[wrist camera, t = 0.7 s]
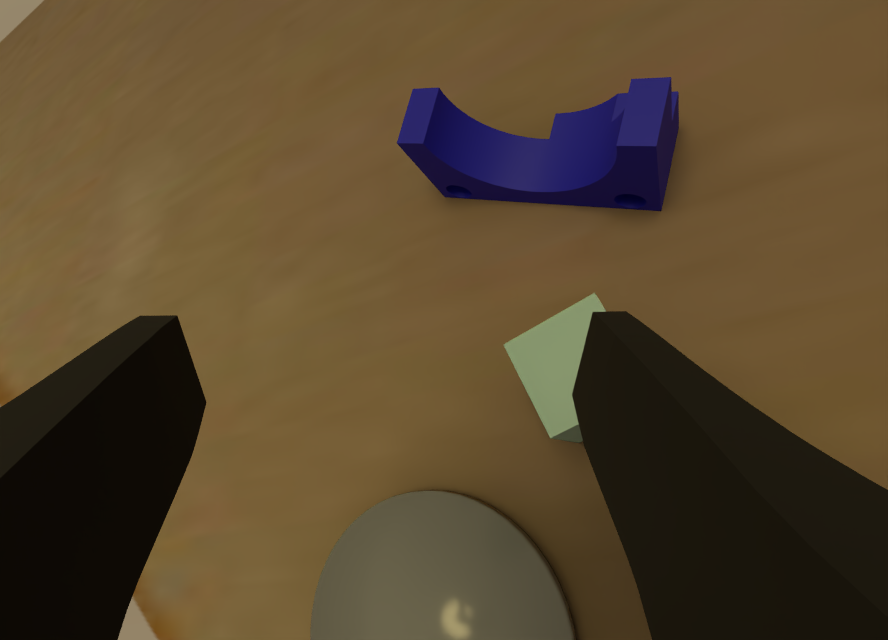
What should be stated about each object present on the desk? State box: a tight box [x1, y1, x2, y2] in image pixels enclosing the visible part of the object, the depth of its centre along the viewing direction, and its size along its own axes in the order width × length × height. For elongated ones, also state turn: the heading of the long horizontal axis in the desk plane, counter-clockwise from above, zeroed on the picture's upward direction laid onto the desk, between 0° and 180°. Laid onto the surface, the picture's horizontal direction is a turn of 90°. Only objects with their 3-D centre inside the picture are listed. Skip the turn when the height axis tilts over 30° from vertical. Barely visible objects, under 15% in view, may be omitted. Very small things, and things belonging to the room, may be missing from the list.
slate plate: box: [311, 490, 576, 640], centre depth 24 cm, size 13×13×2 cm
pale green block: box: [504, 293, 606, 443], centre depth 22 cm, size 4×4×6 cm
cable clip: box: [397, 77, 679, 211], centre depth 25 cm, size 12×4×6 cm, turn 73°
